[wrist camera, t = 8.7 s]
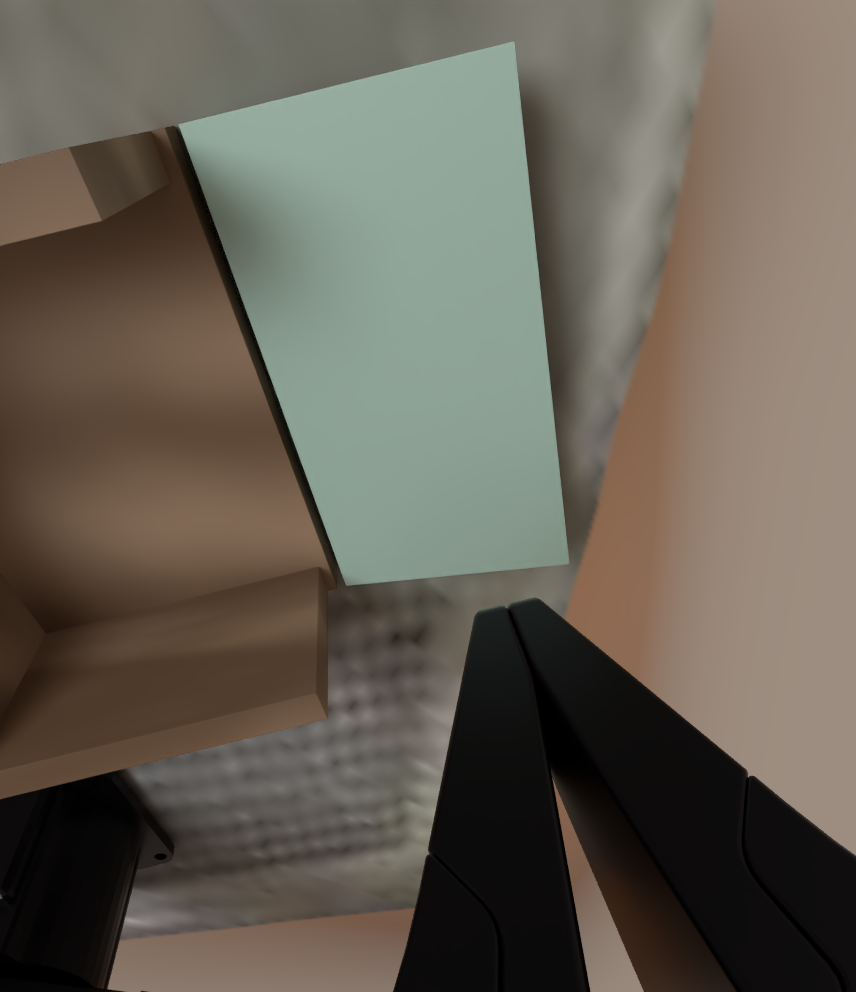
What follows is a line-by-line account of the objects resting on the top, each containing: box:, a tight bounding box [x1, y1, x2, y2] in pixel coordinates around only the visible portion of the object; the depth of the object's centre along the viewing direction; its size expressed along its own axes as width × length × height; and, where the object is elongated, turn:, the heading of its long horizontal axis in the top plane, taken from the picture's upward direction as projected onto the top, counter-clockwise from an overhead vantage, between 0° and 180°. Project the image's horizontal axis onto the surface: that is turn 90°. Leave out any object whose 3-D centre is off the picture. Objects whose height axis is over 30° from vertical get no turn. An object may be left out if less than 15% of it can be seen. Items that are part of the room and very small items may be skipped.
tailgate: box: [179, 42, 569, 586], centre depth 17 cm, size 13×1×7 cm
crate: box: [0, 126, 337, 799], centre depth 15 cm, size 13×10×6 cm
